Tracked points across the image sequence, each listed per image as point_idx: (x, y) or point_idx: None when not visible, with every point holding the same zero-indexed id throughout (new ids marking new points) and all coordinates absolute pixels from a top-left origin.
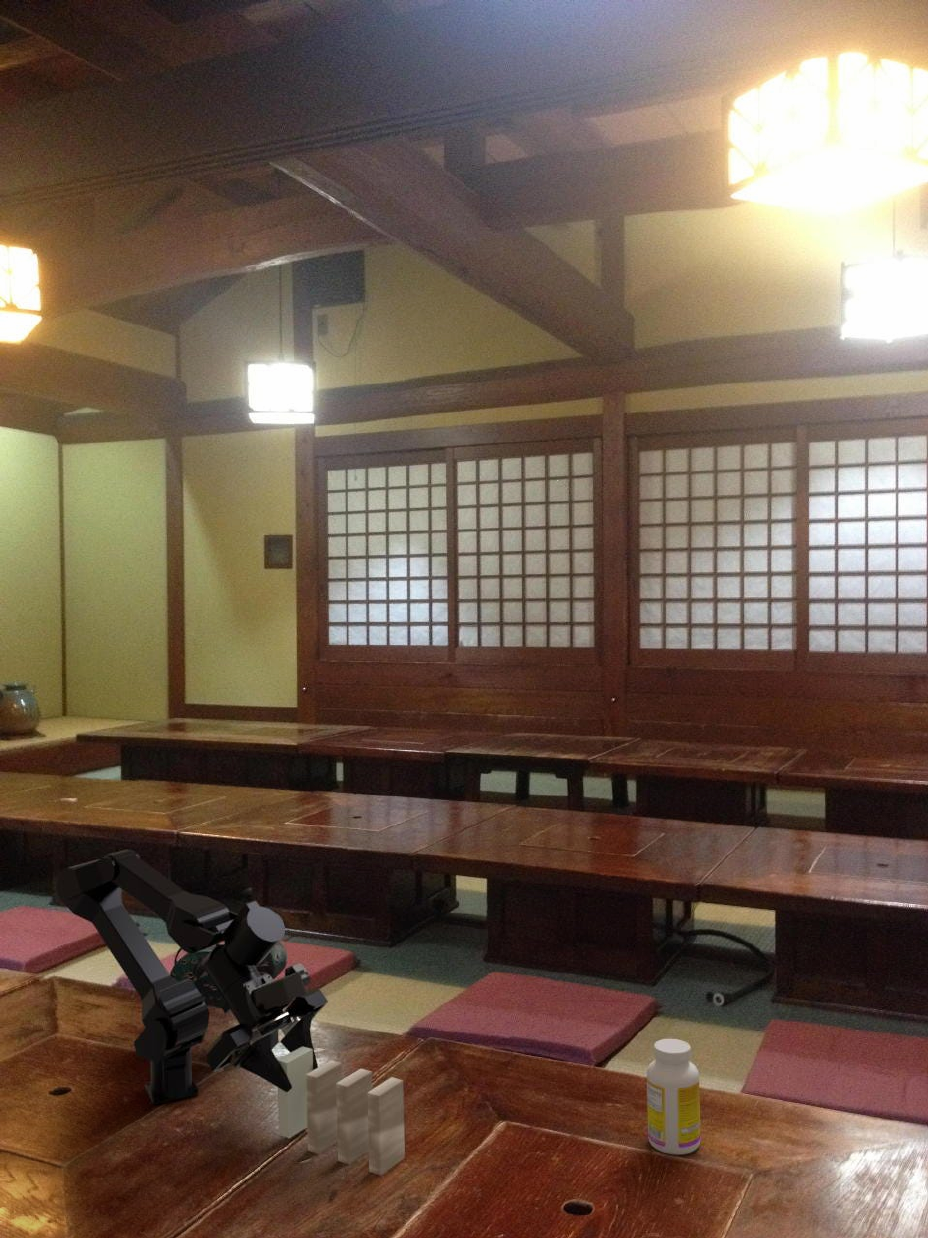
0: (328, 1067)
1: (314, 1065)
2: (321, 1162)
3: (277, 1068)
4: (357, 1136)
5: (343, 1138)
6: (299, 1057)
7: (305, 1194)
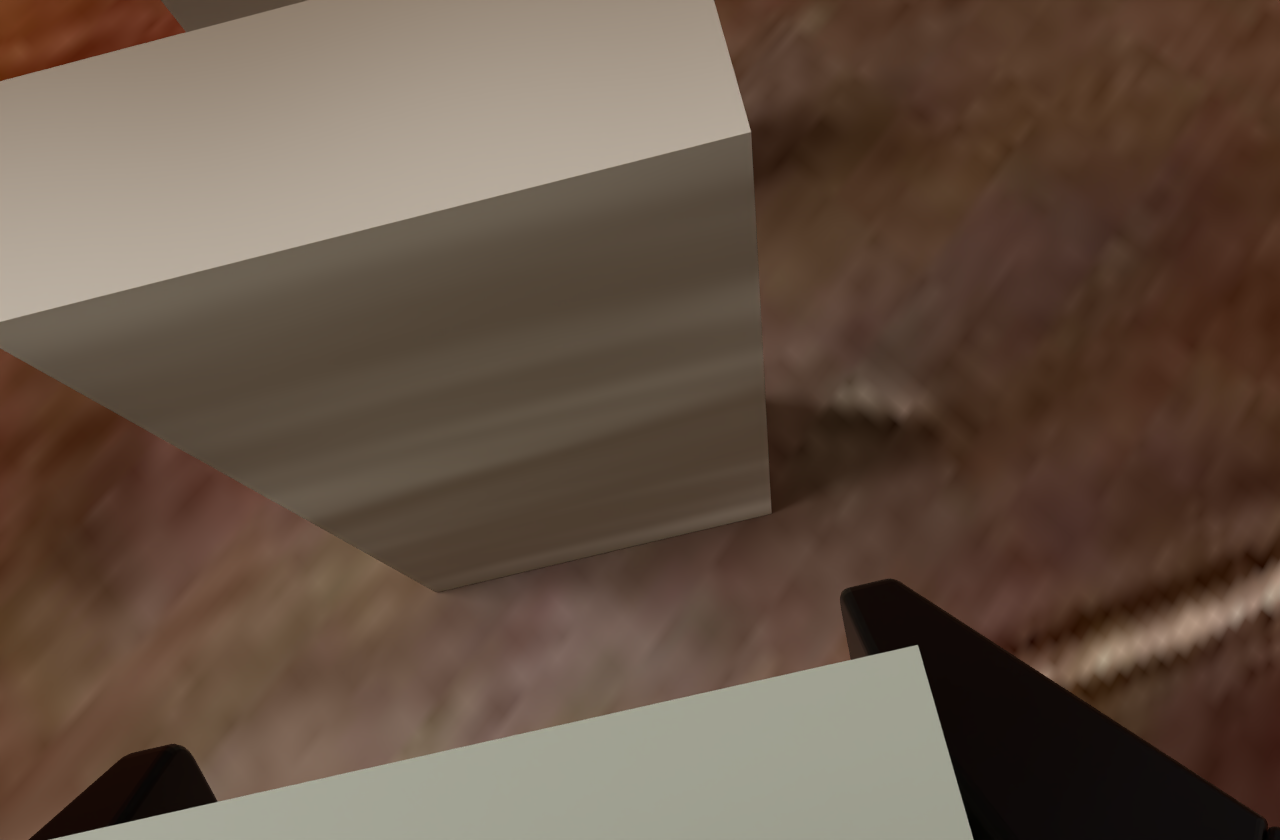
0: (244, 94)
1: (117, 812)
2: (799, 287)
3: (1161, 794)
4: None
5: None
6: (411, 761)
7: (1159, 10)
